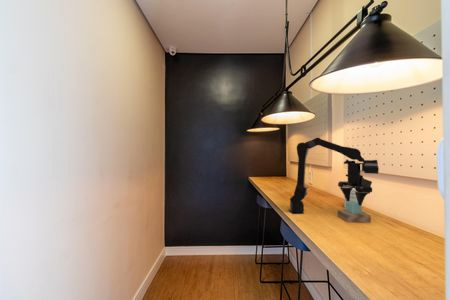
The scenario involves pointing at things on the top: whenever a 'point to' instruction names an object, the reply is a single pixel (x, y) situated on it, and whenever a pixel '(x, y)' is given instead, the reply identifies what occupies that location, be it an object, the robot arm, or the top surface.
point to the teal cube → (353, 208)
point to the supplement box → (352, 197)
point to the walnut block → (354, 217)
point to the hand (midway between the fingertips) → (353, 203)
